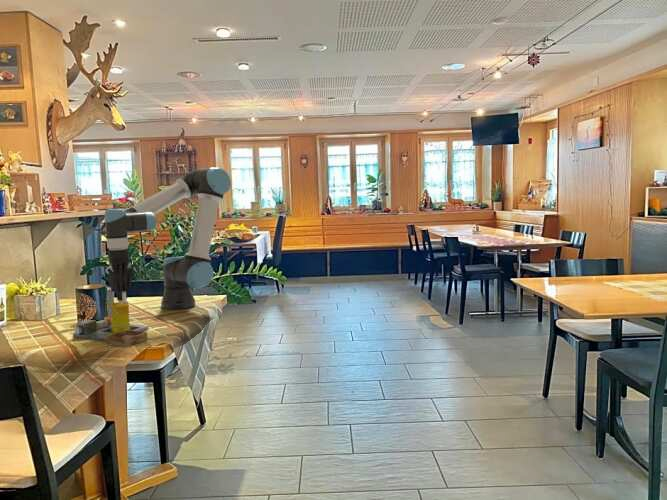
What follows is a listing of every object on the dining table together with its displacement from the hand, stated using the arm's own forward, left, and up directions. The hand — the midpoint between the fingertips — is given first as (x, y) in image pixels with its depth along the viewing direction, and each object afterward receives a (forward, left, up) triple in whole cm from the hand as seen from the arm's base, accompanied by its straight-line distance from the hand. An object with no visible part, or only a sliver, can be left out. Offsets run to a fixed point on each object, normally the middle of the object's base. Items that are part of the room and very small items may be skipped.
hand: (123, 307), depth 196 cm
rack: (+17, +19, -7) cm, 26 cm away
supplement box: (+9, +8, -7) cm, 14 cm away
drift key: (+13, -1, -5) cm, 14 cm away
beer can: (-5, -18, -7) cm, 20 cm away
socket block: (+11, +5, -7) cm, 14 cm away
